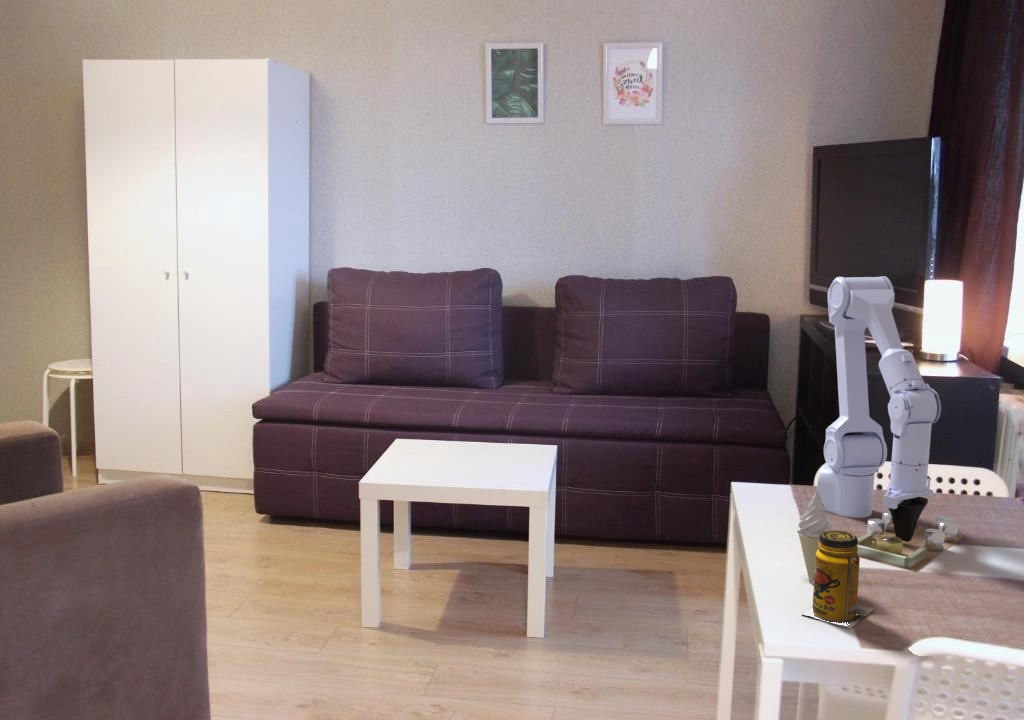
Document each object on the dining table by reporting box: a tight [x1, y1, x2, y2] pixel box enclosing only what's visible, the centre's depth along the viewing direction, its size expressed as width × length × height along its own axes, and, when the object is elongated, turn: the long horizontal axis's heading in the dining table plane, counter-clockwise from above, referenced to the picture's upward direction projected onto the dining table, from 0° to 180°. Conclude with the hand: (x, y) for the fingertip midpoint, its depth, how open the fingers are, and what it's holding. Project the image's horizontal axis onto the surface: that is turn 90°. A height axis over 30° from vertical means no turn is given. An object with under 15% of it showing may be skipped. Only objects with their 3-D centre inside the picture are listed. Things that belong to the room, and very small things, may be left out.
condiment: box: [812, 529, 874, 629], centre depth 152 cm, size 7×8×12 cm
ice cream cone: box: [797, 489, 832, 584], centre depth 163 cm, size 5×5×15 cm
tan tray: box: [857, 525, 966, 573], centre depth 178 cm, size 12×22×3 cm, turn 138°
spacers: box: [866, 509, 959, 553], centre depth 181 cm, size 12×13×3 cm
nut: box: [874, 535, 903, 556], centre depth 173 cm, size 4×5×3 cm
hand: (903, 539), depth 178 cm, fingers closed
